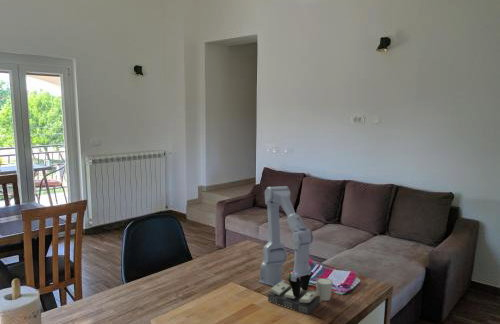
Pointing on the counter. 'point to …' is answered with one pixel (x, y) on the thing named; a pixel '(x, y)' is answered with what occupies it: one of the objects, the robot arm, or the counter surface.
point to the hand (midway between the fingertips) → (300, 292)
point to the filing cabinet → (294, 301)
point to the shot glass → (324, 288)
